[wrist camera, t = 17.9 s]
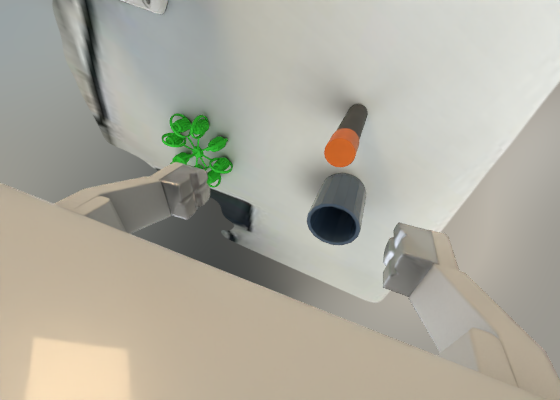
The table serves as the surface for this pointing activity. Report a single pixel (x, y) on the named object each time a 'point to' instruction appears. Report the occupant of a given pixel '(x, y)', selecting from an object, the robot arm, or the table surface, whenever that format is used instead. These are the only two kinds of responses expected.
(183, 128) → the chandelier
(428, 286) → the robot arm
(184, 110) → the table surface
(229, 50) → the table surface
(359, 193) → the pen cup
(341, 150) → the marker
